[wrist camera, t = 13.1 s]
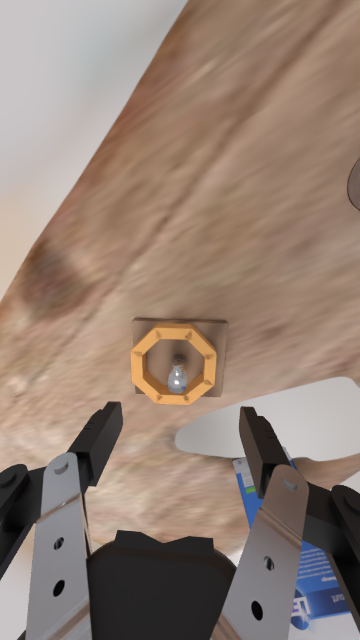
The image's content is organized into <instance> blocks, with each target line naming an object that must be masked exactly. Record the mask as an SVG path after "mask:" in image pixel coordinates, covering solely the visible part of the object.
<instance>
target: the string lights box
mask: <svg viewBox="0 0 360 640" xmlns="http://www.w3.org/2000/svg"><path fill="white" fill-rule="evenodd" d="M282 448H283V450H284V452H285V454H286V456H287V458H288V460H289V461H290V463H291V465H292V467H293V468H294V469H296V470H297V468H296V466H295V464H294V463H293V461H292V459H291V458H290V456H289V454H288V452H287V451H286V449H285V447H282ZM232 462H233V465H234V469H235V473H236V476H237V480H238V484H239V488H240V492H241V496H242V500H243V503H244V507H245V511H246V515H247V519H248V523H249V527H250V530H251V527H252V524H253V522H254V519H255V516H256V513H257V511H258V509H259V507H261V505H262V502H263V499H258V497H257V493H256V490H255V486H254V483H253V479H252V476H251V472H250V469H249V466H248V462H247V459H246V457H243V458H240V459H236V460H233V461H232ZM297 471H298V470H297ZM298 472H299V471H298ZM288 640H360V633H359V631H358V628H357V626H356V624H355V621H354V619H353V617H352V614H351V612H350V610H349V607H348V605H347V603H346V600H345V598H344V596H343V594H342V591H341V589H340V587H339V584H338V582H337V580H336V577H335V575H334V573H333V570H332V568H331V566H330V563H329V561H328V559H327V556H326V554H325V552H324V551H323V550H321V549H319V548H317V547H315V546H313V545H311V544H309V543H307V542H305V541H303V540H302V548H301V555H300V561H299V568H298V575H297V581H296V588H295V595H294V602H293V608H292V615H291V622H290V628H289V635H288Z"/></svg>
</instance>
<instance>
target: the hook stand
mask: <svg viewBox="0 0 360 640" xmlns="http://www.w3.org/2000/svg"><path fill="white" fill-rule="evenodd" d="M158 323H173V324H191V325H193V326H194V327H195V328H196V329H197V330H198V331H199V332H200V333H201V334H202V335H203V336H204V337H205V338H206V339H207V340H208V341H209V342H210V343H211V344H212V345H213V346H214V348H215V351H216V353H217V358H216V371H215V383H214V386H213V387H212V388H210V389H209V390H208V391H206V392H205V393H204V394H203V395H201V396H205V397H221V394H222V383H223V373H224V362H225V352H226V341H227V331H228V323H227V322H226V321H215V320H183V319H150V318H135V319H134V320H132V324H133V346H135V344H136V343H137V342H139V341H140V340H141V339H142V338H143V337H144V336H145V335H146V334H147V333H148V332H149V331H150V330H151V329H152V328H153V327H154V326H155V325H156V324H158ZM202 370H203V355H202V354H201V353H200V352H199V351H198V350H197V349H196V348H195V347H194V346H193V345H192V344H191V343H190V342H189V341H188V340H182V339H160V340H158V341H157V342H156V343H155V344H154V345H153V346H152V347H151V348H150V349H149V350H148V351H146V371H147V372H149V373H150V374H151V375H152V376H153V377H154V378H155V379H156V380H157V381H158V382H160V383H161V384H162V385H168V388H169V390H170V391H171V392H173V393H182V392H184V391H185V389H186V387H187V384H189V383H190V382H191V381H192V380H194V379H195V378H196V377H197V376H198V375H200V374H201V373H202ZM135 390H136V394H145V393H144V392H143V391H142V390H141V389H139V388H138V387H137V386H136V385H135Z"/></svg>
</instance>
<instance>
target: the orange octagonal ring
mask: <svg viewBox="0 0 360 640" xmlns="http://www.w3.org/2000/svg"><path fill="white" fill-rule="evenodd" d="M160 339H182V340H188V341H189V342H190V343H191V344H192V345H193V346H194V347H195V348H196V349H197V350H198V351H199V352H200V353H201V354H202V355H203V370H202V373H201V374H200V375H198V376H197V377H196V378H195V379H194V380H192V381H191V382H190V383H189V384H187V387H186V389H185V391H184V392H182V393H173V392H171V391H170V390H169V388H168V385H162V384H161V383H160V382H158V381H157V380H156V379H155V378H154V377H153V376H152V375H151V374H150V373H149V372H147V371H146V351H148V350H149V349H150V348H151V347H152V346H153V345H154V344H155V343H156V342H157V341H158V340H160ZM216 358H217V353H216V351H215V348H214V346H213V345H212V344H211V343H210V342H209V341H208V340H207V339H206V338H205V337H204V336H203V335H202V334H201V333H200V332H199V331H198V330H197V329H196V328H195V327H194V326H193V325H191V324H173V323H158V324H156V325H155V326H154V327H153V328H152V329H151V330H150V331H149V332H148V333H147V334H146V335H145V336H144V337H143V338H142V339H141V340H140V341H139V342H137V343H136V344H135V346H134V347H133V349H132V350H131V366H132V382H133V383H134V384H135V385H136V386H137V387H138V388H139V389H141V390H142V391H143V392H144V393H145V394H146V395H147V396H149V397H150V398H151V399H152V400H153V401H154V402H155V403H157V404H182V405H189V404H191V403H192V402H194V401H195V400H196V399H197V398H199V397H200V396H201V395H203V394H204V393H205V392H206V391H208V390H209V389H210V388H212V387H213V386H214V383H215V371H216Z"/></svg>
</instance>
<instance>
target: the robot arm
mask: <svg viewBox="0 0 360 640" xmlns="http://www.w3.org/2000/svg"><path fill="white" fill-rule="evenodd" d="M348 193H349V196H350V199H351V201H352V203H353V204H354V205H355V206H356V207H357V208H358V209H360V159H359V160H358V162H357V163H356V165H355V166H354V168H353V170H352V172H351V175H350V178H349V183H348ZM122 426H123V416H122V408H121V403H120V402H111V401H109V402H108V403H107V404H106V406H105V407H104V409H103V410H101V409H99V410H98V411H97V412H96V413H95V414H93V415H92V416H91V418H90V419H89V421H88V422H87V424H86V425H85V426H84V428H83V430H82V431H81V432H80V434H79V435H78V436H77V438H76V439H75V441H74V442H73V444H72V445H71V446H70V448H69V449H68V451H67V452H66V453H64V454H61V455H59V456H57V457H56V458H55V459H53V460H52V461H51V462H50V463H49V464H48V466H46V467H42V468H38V469H35V470H31V471H28V469H27V467H26V465H24V464H17V465H14V466H11V467H9V468H7V469H5V470H4V471H2V472H1V473H0V580H1V578H2V577H3V575H4V573H5V572H6V570H7V568H8V566H9V565H10V563H11V561H12V560H13V558H14V556H15V555H16V553H17V551H18V550H19V548H20V546H21V544H22V543H23V541H24V539H25V538H26V536H27V534H28V533H29V531H30V529H31V527H32V526H33V524H34V523H36V529H35V539H34V550H33V560H32V572H31V582H30V593H29V604H28V605H29V606H28V616H27V626H26V630H25V631H24V632H23V633H22V634H21V636H20V637H19V638H18V639H17V640H288V635H289V628H290V622H291V615H292V608H293V602H294V595H295V588H296V581H297V575H298V568H299V561H300V555H301V548H302V540H303V541H305V542H307V543H309V544H311V545H313V546H315V547H317V548H319V549H321V550H323V551H324V552H325V554H326V556H327V559H328V561H329V563H330V566H331V568H332V570H333V573H334V575H335V577H336V580H337V582H338V584H339V587H340V589H341V591H342V594H343V596H344V598H345V600H346V603H347V605H348V607H349V610H350V612H351V614H352V617H353V619H354V621H355V624H356V626H357V628H358V631H359V633H360V494H359V493H358V492H356V491H355V490H353V489H351V488H349V487H347V486H344V485H335V486H333V488H332V490H331V491H330V490H327V489H324V488H322V487H319V486H316V485H314V484H311V483H309V482H308V481H306V480H305V478H304V477H303V476H302V475H301V474H300V473H299V472H298V471H297V470H296V469H294V468H293V467H292V465H291V463H290V461H289V460H288V458H287V456H286V454H285V452H284V450H283V448H282V446H281V444H280V442H279V440H278V439H277V436H276V434H275V433H274V430H273V428H272V426H271V424H270V423H269V422H268V421H267V420H266V419H265V418H264V417H263V416H257V413H256V411H255V409H254V408H253V407H243V406H242V407H241V408H240V419H239V433H240V438H241V441H242V445H243V448H244V452H245V455H246V459H247V462H248V466H249V469H250V472H251V476H252V479H253V483H254V486H255V490H256V493H257V497H258V499H263V502H262V505H261V507H259V509H258V511H257V513H256V516H255V519H254V522H253V524H252V527H251V530H250V533H249V536H248V539H247V541H246V544H245V547H244V550H243V553H242V555H241V558H240V561H239V564H238V567H236V566H235V565H234V564H233V563H232V561H231V560H229V559H228V558H227V557H226V556H225V555H224V554H222V553H221V552H219V551H218V550H216V549H214V545H213V538H204V537H192V536H188V537H184V538H181V539H178V540H174V541H171V542H167V543H161V542H159V541H157V540H155V539H153V538H151V537H149V536H147V535H145V534H143V533H141V532H135V531H123V530H118V531H117V534H116V537H115V540H114V541H111V542H109V543H107V544H105V545H103V546H102V547H100V548H99V549H97V550H96V551H95V552H92V546H91V540H90V533H89V524H88V516H87V508H86V499H85V492H86V490H87V488H88V486H96V485H97V483H98V481H99V479H100V476H101V474H102V472H103V470H104V468H105V465H106V463H107V461H108V459H109V456H110V454H111V452H112V450H113V448H114V445H115V443H116V441H117V439H118V437H119V434H120V432H121V430H122Z"/></svg>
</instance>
